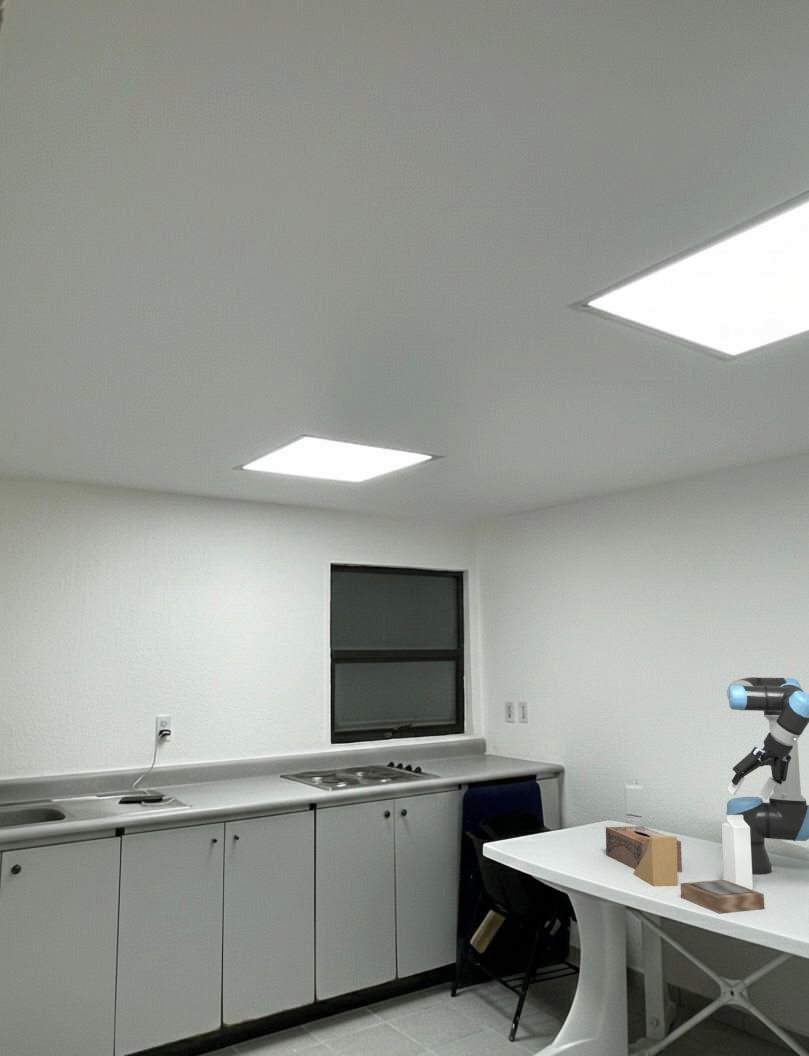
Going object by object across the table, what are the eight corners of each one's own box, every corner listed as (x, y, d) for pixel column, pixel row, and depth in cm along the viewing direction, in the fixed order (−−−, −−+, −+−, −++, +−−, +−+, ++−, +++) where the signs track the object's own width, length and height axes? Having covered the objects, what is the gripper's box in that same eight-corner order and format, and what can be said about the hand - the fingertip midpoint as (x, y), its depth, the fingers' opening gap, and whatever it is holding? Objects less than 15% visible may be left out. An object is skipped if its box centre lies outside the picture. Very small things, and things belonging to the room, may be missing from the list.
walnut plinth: (724, 893, 244) (723, 878, 244) (764, 908, 229) (763, 892, 230) (681, 897, 238) (680, 882, 239) (719, 913, 223) (718, 897, 224)
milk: (753, 891, 247) (750, 816, 251) (736, 892, 245) (733, 817, 249) (739, 885, 253) (737, 812, 256) (723, 886, 251) (720, 813, 255)
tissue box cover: (682, 872, 269) (681, 841, 270) (642, 874, 266) (642, 842, 267) (642, 854, 293) (641, 826, 295) (606, 856, 290) (605, 827, 292)
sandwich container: (656, 873, 266) (655, 826, 269) (678, 886, 251) (677, 836, 254) (631, 874, 265) (630, 826, 267) (653, 887, 250) (651, 836, 253)
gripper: (759, 742, 233) (724, 799, 239) (819, 752, 243) (784, 806, 249) (743, 725, 239) (709, 781, 246) (801, 736, 249) (767, 789, 256)
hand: (747, 794), depth 247 cm, fingers open, 13 cm apart
